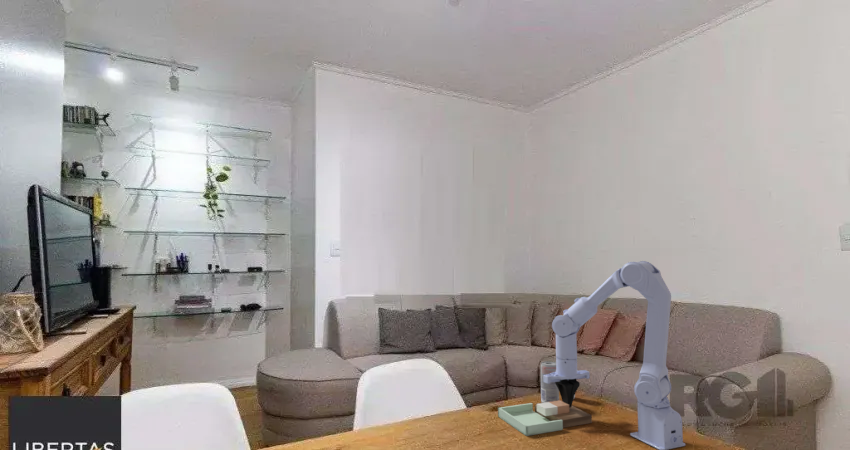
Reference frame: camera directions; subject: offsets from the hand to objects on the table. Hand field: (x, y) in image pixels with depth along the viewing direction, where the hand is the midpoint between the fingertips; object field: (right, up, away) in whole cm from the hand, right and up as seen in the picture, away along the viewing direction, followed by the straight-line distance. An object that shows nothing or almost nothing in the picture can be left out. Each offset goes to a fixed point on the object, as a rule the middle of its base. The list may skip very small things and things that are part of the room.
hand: (567, 406), depth 124 cm
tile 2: (-3, -1, -1) cm, 3 cm away
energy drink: (-2, -4, +11) cm, 12 cm away
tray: (-12, -3, -5) cm, 13 cm away
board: (-2, -3, -1) cm, 3 cm away
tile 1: (-6, -1, -3) cm, 7 cm away
